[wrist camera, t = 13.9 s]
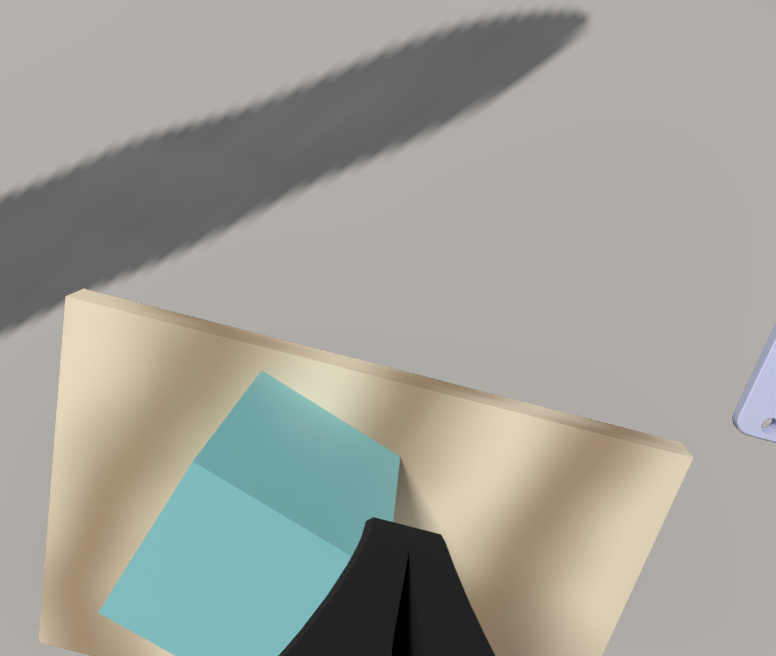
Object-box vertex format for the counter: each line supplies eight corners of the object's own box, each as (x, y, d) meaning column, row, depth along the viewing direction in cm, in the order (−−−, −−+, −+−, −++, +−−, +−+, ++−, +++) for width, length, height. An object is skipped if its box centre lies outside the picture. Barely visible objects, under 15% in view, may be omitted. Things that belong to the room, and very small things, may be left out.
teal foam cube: (400, 456, 19) (387, 577, 14) (317, 565, 21) (276, 712, 15) (261, 369, 19) (192, 461, 13) (186, 488, 20) (97, 612, 15)
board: (680, 442, 19) (760, 540, 15) (543, 747, 24) (571, 899, 19) (83, 288, 19) (-31, 336, 15) (54, 621, 24) (-41, 742, 19)
